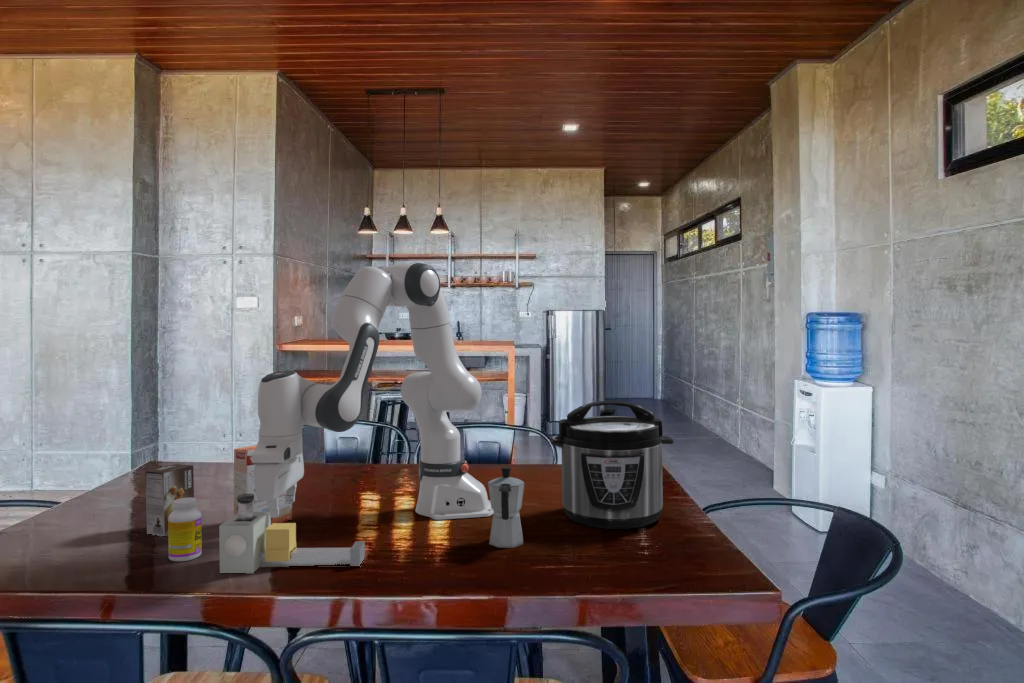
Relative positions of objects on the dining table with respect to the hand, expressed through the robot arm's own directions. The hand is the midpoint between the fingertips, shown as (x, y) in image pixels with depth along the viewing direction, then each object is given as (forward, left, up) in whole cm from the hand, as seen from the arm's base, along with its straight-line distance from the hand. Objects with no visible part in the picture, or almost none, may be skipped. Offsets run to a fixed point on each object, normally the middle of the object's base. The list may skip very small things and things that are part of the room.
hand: (282, 509), depth 136 cm
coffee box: (+36, -24, -12) cm, 45 cm away
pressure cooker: (-78, -32, -12) cm, 85 cm away
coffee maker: (-49, -12, -12) cm, 51 cm away
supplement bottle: (+23, -5, -12) cm, 27 cm away
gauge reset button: (+8, 0, -4) cm, 9 cm away
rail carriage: (0, 0, -10) cm, 10 cm away
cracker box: (+14, -28, -12) cm, 33 cm away
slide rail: (-5, 0, -12) cm, 13 cm away
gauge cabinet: (+8, 0, -12) cm, 14 cm away
